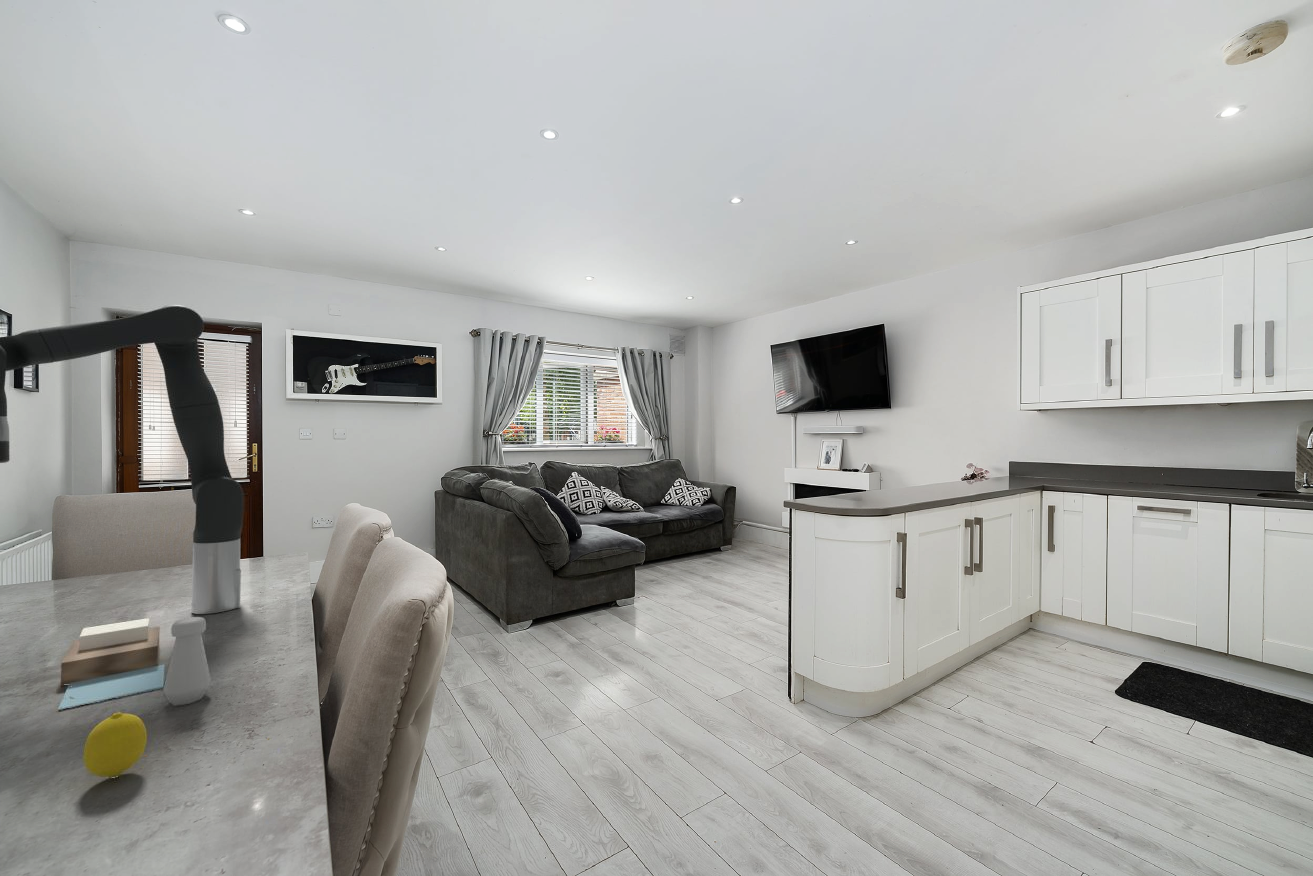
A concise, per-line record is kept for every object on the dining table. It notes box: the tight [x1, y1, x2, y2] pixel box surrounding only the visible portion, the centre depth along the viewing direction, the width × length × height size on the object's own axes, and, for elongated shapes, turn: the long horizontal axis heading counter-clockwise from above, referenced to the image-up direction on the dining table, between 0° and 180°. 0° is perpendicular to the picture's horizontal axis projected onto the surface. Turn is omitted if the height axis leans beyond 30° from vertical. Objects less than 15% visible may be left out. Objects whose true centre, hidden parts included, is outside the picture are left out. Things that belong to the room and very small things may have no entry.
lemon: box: [83, 711, 148, 779], centre depth 66 cm, size 6×6×8 cm
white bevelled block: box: [78, 617, 150, 651], centre depth 102 cm, size 9×6×2 cm, turn 132°
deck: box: [60, 626, 161, 686], centre depth 100 cm, size 12×14×4 cm
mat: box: [57, 664, 166, 711], centre depth 91 cm, size 12×12×1 cm
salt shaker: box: [163, 616, 212, 707], centre depth 87 cm, size 6×6×13 cm
